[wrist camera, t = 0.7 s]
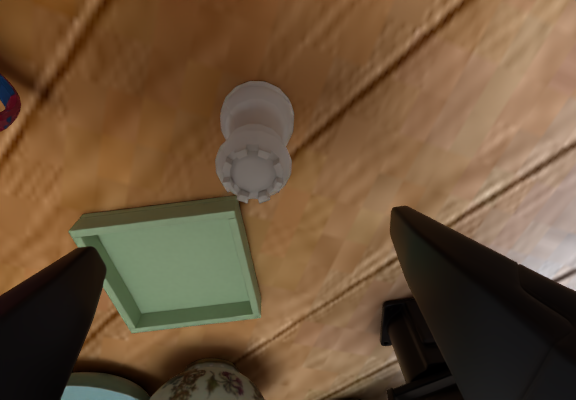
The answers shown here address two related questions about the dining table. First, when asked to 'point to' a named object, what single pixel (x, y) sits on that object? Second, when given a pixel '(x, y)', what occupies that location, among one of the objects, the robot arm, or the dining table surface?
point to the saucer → (102, 388)
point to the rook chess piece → (255, 141)
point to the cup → (8, 103)
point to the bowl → (209, 383)
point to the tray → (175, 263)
